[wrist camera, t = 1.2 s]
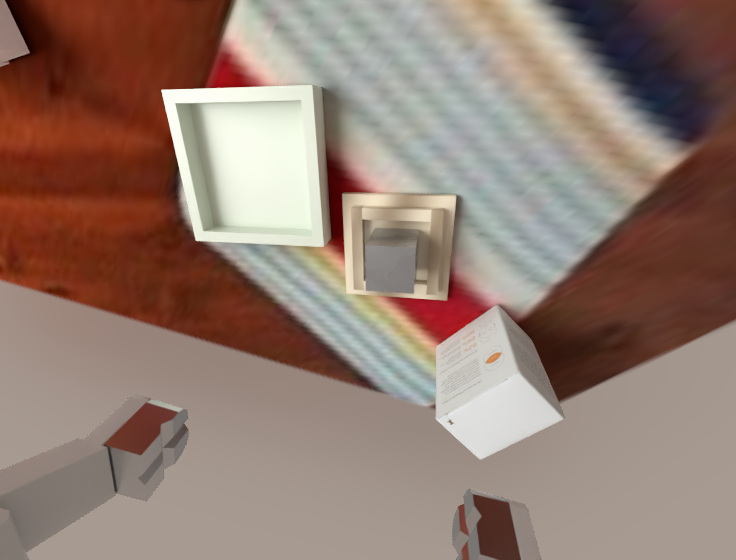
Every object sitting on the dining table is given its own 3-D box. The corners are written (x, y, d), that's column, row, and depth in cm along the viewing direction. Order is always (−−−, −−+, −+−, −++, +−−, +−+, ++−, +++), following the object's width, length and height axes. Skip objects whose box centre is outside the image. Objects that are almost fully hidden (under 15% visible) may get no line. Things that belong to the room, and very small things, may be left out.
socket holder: (455, 194, 31) (456, 198, 29) (446, 296, 35) (447, 305, 33) (344, 192, 32) (339, 196, 31) (348, 289, 37) (344, 297, 35)
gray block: (419, 229, 32) (415, 247, 27) (417, 270, 33) (413, 293, 29) (375, 227, 32) (364, 245, 28) (375, 267, 34) (365, 290, 30)
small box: (469, 378, 38) (478, 463, 29) (434, 344, 37) (433, 421, 28) (533, 339, 35) (568, 421, 26) (497, 301, 34) (520, 371, 25)
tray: (322, 87, 29) (312, 85, 27) (331, 238, 34) (323, 246, 32) (181, 91, 31) (161, 90, 29) (210, 233, 37) (195, 240, 34)
